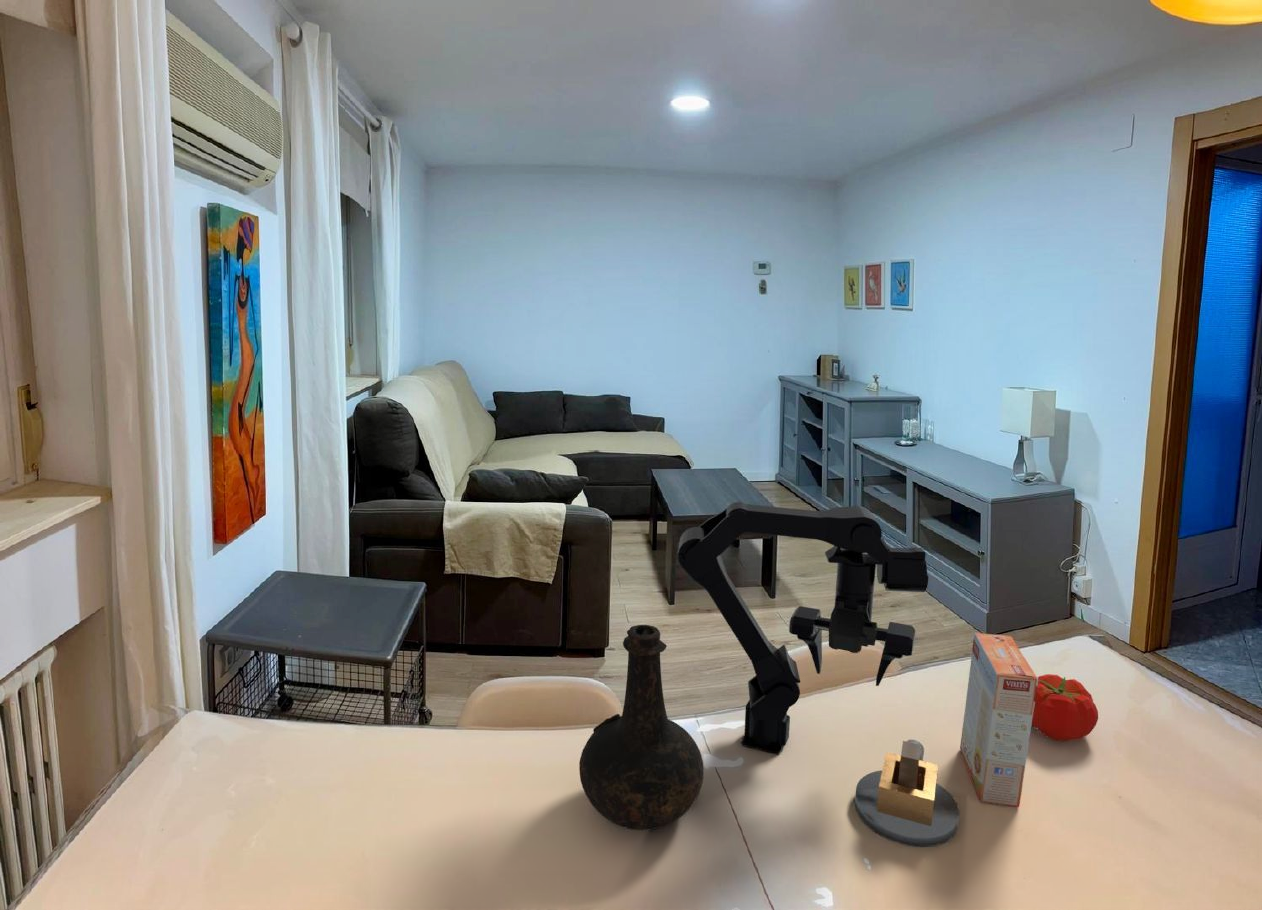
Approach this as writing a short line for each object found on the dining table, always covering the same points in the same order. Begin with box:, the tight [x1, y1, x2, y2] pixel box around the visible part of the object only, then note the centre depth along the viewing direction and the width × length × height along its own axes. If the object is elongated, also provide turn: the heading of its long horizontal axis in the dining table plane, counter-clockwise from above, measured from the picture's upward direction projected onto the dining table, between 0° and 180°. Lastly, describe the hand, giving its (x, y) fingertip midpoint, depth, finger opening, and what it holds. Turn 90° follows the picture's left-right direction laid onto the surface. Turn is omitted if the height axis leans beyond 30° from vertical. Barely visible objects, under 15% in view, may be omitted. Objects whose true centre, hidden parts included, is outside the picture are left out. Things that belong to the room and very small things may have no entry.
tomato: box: [1031, 674, 1099, 742], centre depth 132 cm, size 13×12×8 cm
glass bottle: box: [578, 624, 705, 831], centre depth 109 cm, size 18×18×28 cm
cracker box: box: [959, 632, 1038, 808], centre depth 118 cm, size 14×6×21 cm, turn 168°
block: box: [898, 740, 921, 789], centre depth 110 cm, size 2×4×8 cm, turn 157°
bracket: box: [854, 739, 960, 848], centre depth 113 cm, size 14×17×6 cm
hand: (847, 678), depth 125 cm, fingers open, 9 cm apart
